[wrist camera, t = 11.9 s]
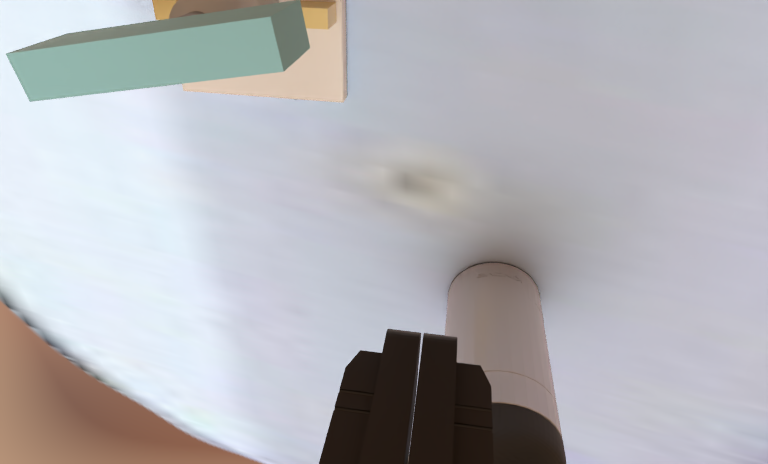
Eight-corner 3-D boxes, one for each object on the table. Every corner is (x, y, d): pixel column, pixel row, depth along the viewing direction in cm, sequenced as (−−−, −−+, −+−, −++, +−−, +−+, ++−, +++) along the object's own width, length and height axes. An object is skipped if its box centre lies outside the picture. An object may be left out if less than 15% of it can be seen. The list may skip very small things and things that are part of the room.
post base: (346, 96, 45) (315, 144, 36) (191, 85, 46) (125, 129, 38) (344, -97, 37) (303, -96, 29) (158, -103, 39) (66, -103, 30)
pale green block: (309, -6, 31) (270, 16, 25) (318, 40, 32) (283, 71, 26) (87, 26, 34) (5, 53, 28) (104, 67, 35) (29, 101, 29)
